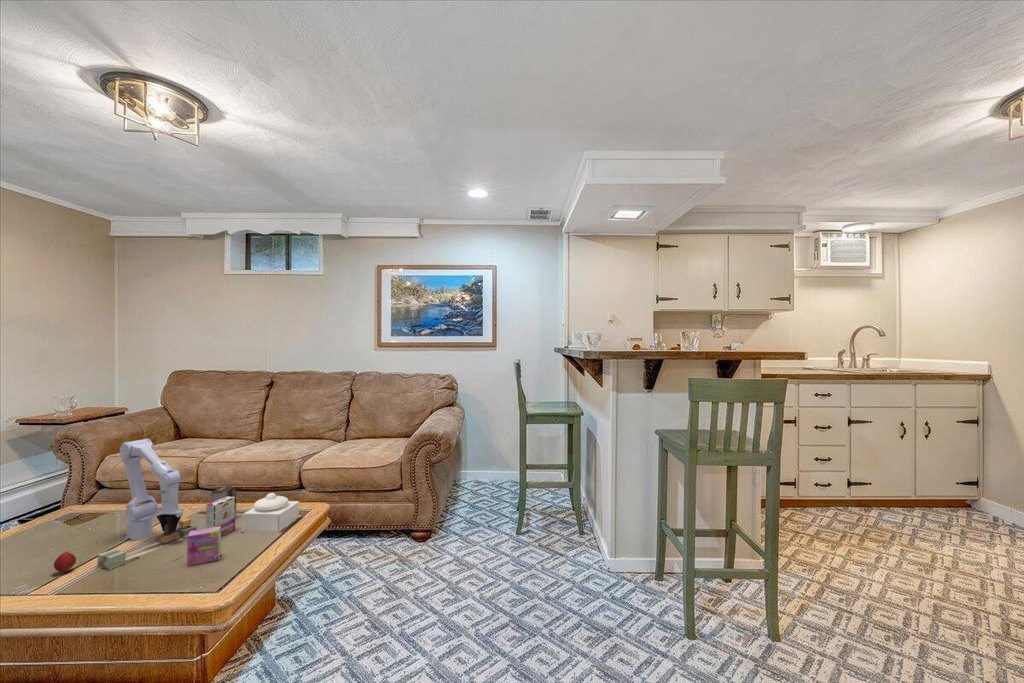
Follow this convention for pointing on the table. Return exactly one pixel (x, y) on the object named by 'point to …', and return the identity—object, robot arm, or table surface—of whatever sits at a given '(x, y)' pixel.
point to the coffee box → (224, 494)
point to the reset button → (184, 523)
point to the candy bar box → (221, 515)
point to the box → (203, 545)
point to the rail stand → (136, 551)
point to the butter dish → (270, 513)
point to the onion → (64, 562)
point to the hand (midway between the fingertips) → (169, 531)
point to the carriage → (167, 535)
